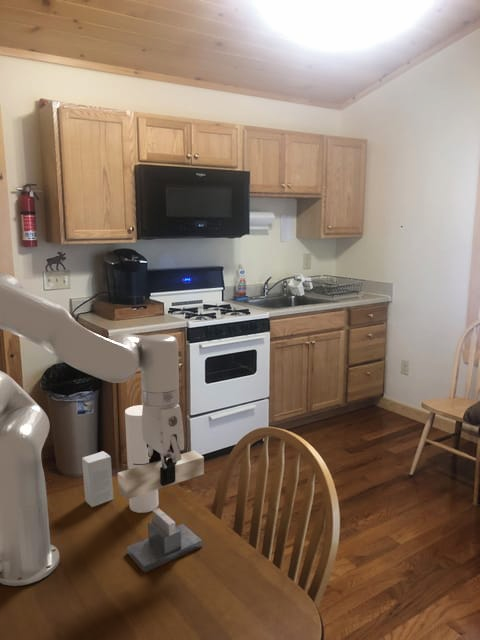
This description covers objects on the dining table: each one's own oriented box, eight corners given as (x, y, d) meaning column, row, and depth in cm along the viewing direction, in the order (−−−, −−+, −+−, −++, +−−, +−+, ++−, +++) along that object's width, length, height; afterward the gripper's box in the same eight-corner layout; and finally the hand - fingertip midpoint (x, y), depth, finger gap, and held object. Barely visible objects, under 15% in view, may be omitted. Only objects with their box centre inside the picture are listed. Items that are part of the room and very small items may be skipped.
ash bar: (126, 499, 102) (125, 480, 102) (118, 491, 106) (117, 472, 105) (203, 474, 113) (203, 457, 112) (194, 467, 116) (194, 450, 115)
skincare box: (106, 493, 136) (104, 450, 134) (113, 499, 133) (111, 456, 131) (84, 501, 132) (81, 457, 130) (91, 508, 129) (88, 463, 127)
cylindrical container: (152, 514, 126) (148, 416, 122) (124, 511, 128) (119, 414, 123) (162, 498, 133) (159, 406, 128) (136, 496, 135) (132, 404, 130)
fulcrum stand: (144, 572, 105) (143, 537, 104) (126, 553, 112) (125, 519, 110) (202, 546, 114) (201, 513, 112) (182, 529, 120) (181, 497, 119)
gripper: (198, 403, 101) (199, 490, 105) (157, 382, 114) (158, 459, 118) (164, 411, 97) (166, 501, 100) (125, 388, 110) (128, 468, 113)
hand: (162, 478), depth 109 cm, fingers closed on ash bar, 4 cm apart
